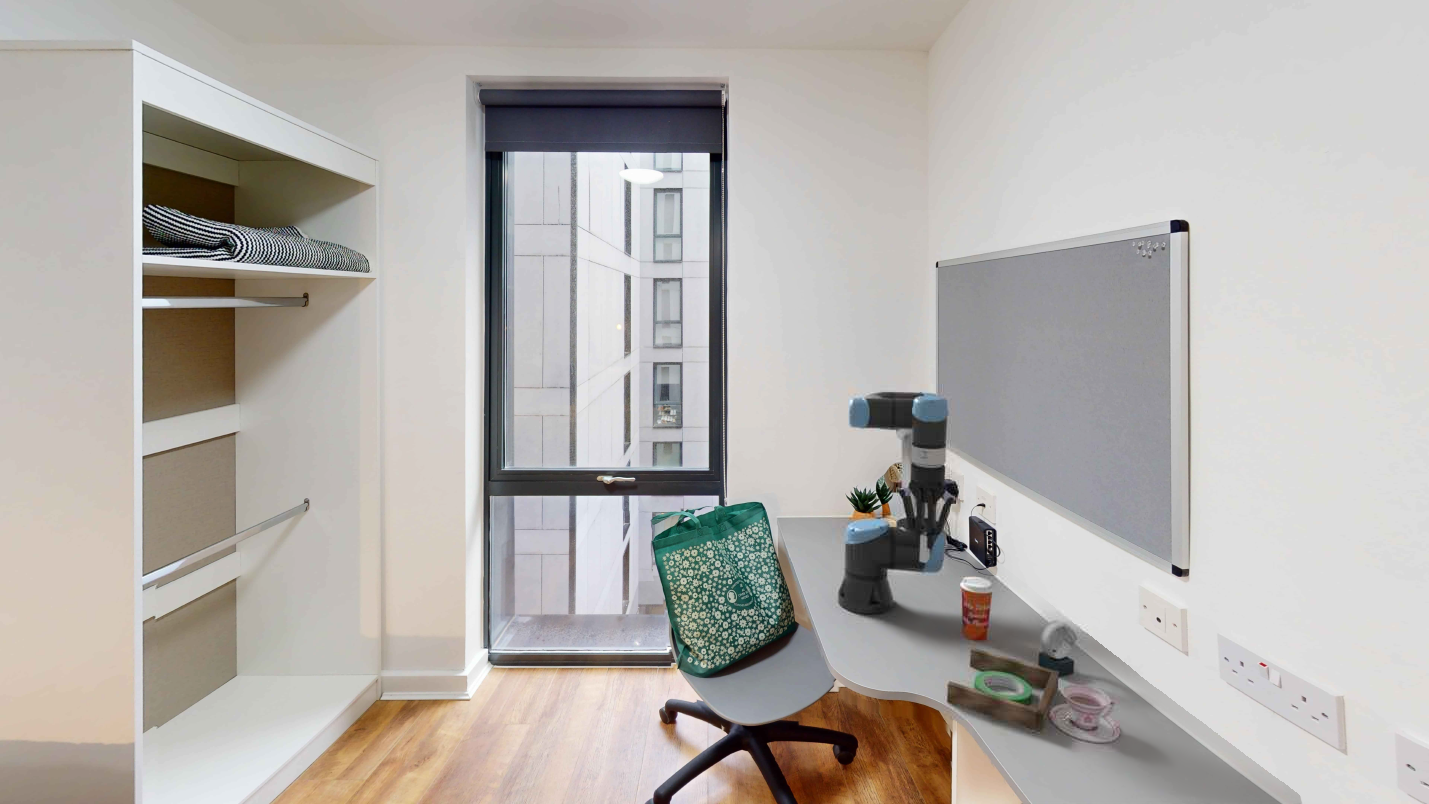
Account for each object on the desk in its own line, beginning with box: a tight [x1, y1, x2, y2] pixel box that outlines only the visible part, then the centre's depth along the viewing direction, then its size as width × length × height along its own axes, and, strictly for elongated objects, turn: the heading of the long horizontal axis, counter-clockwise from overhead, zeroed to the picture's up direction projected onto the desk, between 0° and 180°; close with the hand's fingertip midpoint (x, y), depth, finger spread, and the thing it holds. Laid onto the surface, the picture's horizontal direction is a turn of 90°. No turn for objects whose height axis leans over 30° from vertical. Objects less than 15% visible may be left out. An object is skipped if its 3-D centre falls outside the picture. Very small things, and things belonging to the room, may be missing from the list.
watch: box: [1037, 620, 1079, 678], centre depth 144 cm, size 6×8×11 cm
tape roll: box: [973, 671, 1033, 707], centre depth 135 cm, size 11×11×3 cm
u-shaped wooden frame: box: [946, 647, 1060, 734], centre depth 134 cm, size 18×18×4 cm
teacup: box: [1048, 683, 1121, 744], centre depth 125 cm, size 12×12×6 cm
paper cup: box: [959, 576, 995, 642], centre depth 160 cm, size 8×8×14 cm
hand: (924, 560), depth 152 cm, fingers closed
